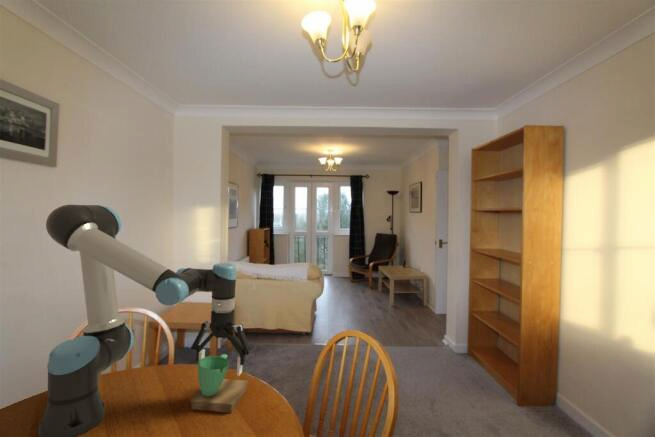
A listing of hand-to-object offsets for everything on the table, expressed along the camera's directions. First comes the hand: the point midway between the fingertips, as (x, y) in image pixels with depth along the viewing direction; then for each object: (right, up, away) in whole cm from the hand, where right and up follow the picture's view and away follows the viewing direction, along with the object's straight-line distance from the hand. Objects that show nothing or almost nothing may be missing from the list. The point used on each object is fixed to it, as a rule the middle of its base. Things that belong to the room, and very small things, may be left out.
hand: (220, 371), depth 106 cm
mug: (-3, -6, 0) cm, 7 cm away
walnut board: (0, -9, 0) cm, 9 cm away
